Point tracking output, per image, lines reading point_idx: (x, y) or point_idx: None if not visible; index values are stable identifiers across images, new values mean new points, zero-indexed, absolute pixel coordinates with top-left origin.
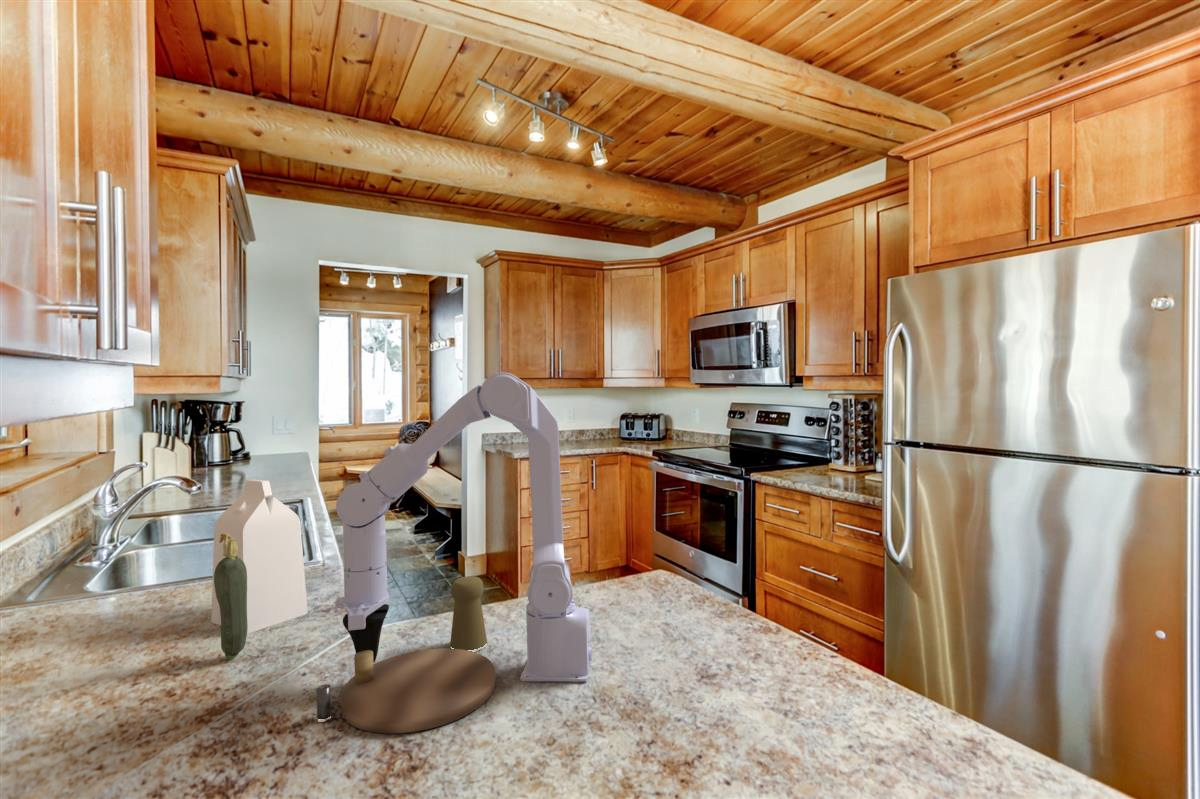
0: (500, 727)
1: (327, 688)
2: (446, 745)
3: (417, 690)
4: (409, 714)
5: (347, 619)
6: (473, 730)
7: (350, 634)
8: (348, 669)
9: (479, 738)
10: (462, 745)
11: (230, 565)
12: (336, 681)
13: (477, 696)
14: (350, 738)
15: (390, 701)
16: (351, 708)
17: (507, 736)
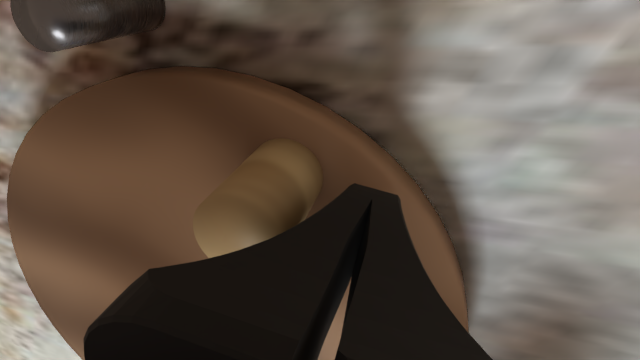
0: (56, 350)
1: (27, 38)
2: (5, 265)
3: None
4: (32, 245)
5: (91, 347)
6: None
7: (237, 253)
8: (594, 107)
9: (25, 314)
10: (6, 286)
11: None
12: (474, 46)
13: None
14: (33, 88)
15: (101, 221)
16: (76, 110)
17: (30, 346)
